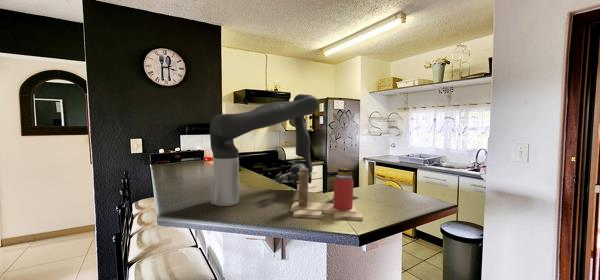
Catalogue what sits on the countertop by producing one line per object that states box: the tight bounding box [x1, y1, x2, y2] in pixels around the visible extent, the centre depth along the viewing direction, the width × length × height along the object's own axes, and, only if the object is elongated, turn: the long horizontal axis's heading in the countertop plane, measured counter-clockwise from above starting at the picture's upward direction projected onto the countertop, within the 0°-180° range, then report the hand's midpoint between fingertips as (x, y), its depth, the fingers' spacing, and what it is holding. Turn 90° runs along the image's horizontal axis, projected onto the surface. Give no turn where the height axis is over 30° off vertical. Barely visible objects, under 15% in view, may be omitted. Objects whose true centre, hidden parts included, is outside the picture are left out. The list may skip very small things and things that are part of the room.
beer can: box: [333, 174, 354, 210], centre depth 91 cm, size 7×7×12 cm
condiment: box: [337, 167, 359, 200], centre depth 107 cm, size 7×8×12 cm
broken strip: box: [292, 210, 364, 221], centre depth 85 cm, size 22×4×1 cm, turn 83°
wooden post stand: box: [289, 168, 357, 215], centre depth 92 cm, size 22×8×14 cm, turn 83°
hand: (291, 182), depth 99 cm, fingers open, 8 cm apart
